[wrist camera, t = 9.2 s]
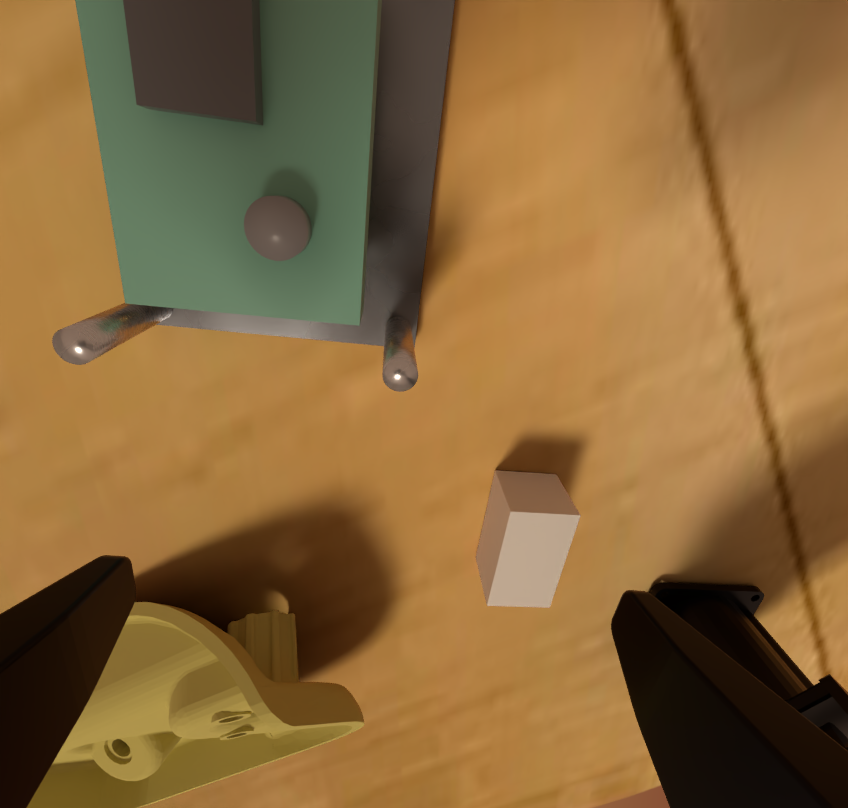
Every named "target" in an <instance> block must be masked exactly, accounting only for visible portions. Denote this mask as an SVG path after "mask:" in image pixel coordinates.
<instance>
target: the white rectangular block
mask: <svg viewBox="0 0 848 808" xmlns="http://www.w3.org/2000/svg"><path fill="white" fill-rule="evenodd" d="M579 518H580V514H579V512H578V510H577V509H576V507H575V505H574V503H573V502H572V500H571V498H570V497H569V495H568V493H567V492H566V490H565V488H564V486H563V485H562V483H561V481H560V480H559V478H558V476H557V475H556V474H544V473H529V472H514V471H498V470H495V473H494V478H493V482H492V487H491V491H490V496H489V500H488V505H487V509H486V514H485V518H484V523H483V527H482V532H481V536H480V541H479V545H478V550H477V554H476V561H477V565H478V569H479V574H480V578H481V582H482V587H483V591H484V595H485V599H486V604H487V606H514V607H547V608H550V605H551V602H552V599H553V596H554V593H555V590H556V587H557V584H558V581H559V578H560V575H561V572H562V569H563V566H564V563H565V560H566V557H567V554H568V551H569V548H570V545H571V542H572V539H573V536H574V533H575V530H576V527H577V524H578V521H579Z"/></svg>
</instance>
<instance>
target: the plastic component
mask: <svg viewBox="0 0 848 808" xmlns="http://www.w3.org/2000/svg"><path fill="white" fill-rule="evenodd" d="M363 726H364V719H363V715H362V712H361V709H360V707H359V705H358V703H357V702H356V700H355V699H354V697H353V696H352V694H351V693H350V692H349V691H348V690H347V689H346V688H345V687H344V686H342V685H339V684H334V683H323V682H299V675H298V658H297V640H296V622H295V614H294V613H291V614H285V613H280V612H279V610H272V611H271V612H267V613H260V614H254V613H251V614H247V615H246V617H245V618H243V619H240V620H238V621H232V622H230V623H229V624H228V633H226V632H224V631H223V630H221V629H220V628H218V627H216V626H215V625H213V624H212V623H210V622H209V621H207V620H206V619H204V618H202V617H200V616H198V615H196V614H194V613H192V612H189V611H187V610H184V609H181V608H177V607H173V606H169V605H164V604H158V603H152V602H134V605H133V608H132V610H131V612H130V614H129V616H128V618H127V621H126V623H125V625H124V627H123V629H122V631H121V634H120V636H119V638H118V640H117V642H116V644H115V646H114V649H113V651H112V653H111V655H110V657H109V659H108V662H107V664H106V666H105V668H104V670H103V672H102V675H101V677H100V679H99V681H98V683H97V685H96V687H95V689H94V691H93V693H92V695H91V697H90V699H89V701H88V703H87V705H86V706H85V708H84V710H83V712H82V714H81V715H80V717H79V719H78V721H77V722H76V724H75V726H74V727H73V729H72V731H71V733H70V734H69V736H68V738H67V739H66V741H65V743H64V745H63V746H62V748H61V750H60V751H59V753H58V755H57V757H56V758H55V760H54V762H53V764H52V765H51V767H50V769H49V770H48V772H47V774H46V776H45V777H44V779H43V781H42V782H41V784H40V786H39V788H38V789H37V791H36V793H35V794H34V796H33V798H32V800H31V801H30V803H29V805H28V806H27V808H139V807H143V806H146V805H149V804H153V803H156V802H158V801H161V800H164V799H167V798H170V797H173V796H176V795H179V794H181V793H184V792H187V791H190V790H193V789H196V788H199V787H202V786H204V785H207V784H210V783H213V782H216V781H219V780H222V779H225V778H228V777H230V776H233V775H236V774H239V773H242V772H245V771H248V770H251V769H253V768H256V767H259V766H262V765H265V764H268V763H271V762H274V761H277V760H279V759H282V758H285V757H288V756H291V755H294V754H297V753H299V752H302V751H305V750H308V749H311V748H314V747H316V746H319V745H322V744H325V743H327V742H330V741H333V740H335V739H338V738H341V737H343V736H345V735H348V734H350V733H352V732H355V731H356V730H358V729H360V728H361V727H363Z"/></svg>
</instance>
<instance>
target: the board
mask: <svg viewBox="0 0 848 808" xmlns="http://www.w3.org/2000/svg"><path fill="white" fill-rule="evenodd" d="M75 1H76V7H77V14H78V20H79V26H80V32H81V38H82V44H83V50H84V56H85V62H86V68H87V74H88V80H89V86H90V92H91V98H92V104H93V110H94V116H95V122H96V128H97V134H98V140H99V146H100V152H101V159H102V165H103V171H104V177H105V183H106V189H107V195H108V201H109V207H110V213H111V219H112V225H113V231H114V237H115V243H116V249H117V255H118V261H119V267H120V273H121V279H122V285H123V291H124V297H125V304H136V305H146V306H157V307H168V308H178V309H189V310H199V311H210V312H220V313H231V314H241V315H252V316H263V317H273V318H284V319H294V320H305V321H315V322H326V323H337V324H347V325H358V326H360V322H361V318H362V313H363V309H364V294H365V277H366V261H367V244H368V227H369V210H370V193H371V176H372V159H373V142H374V126H375V109H376V92H377V75H378V58H379V41H380V24H381V8H382V0H75Z"/></svg>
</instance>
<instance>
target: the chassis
mask: <svg viewBox="0 0 848 808" xmlns="http://www.w3.org/2000/svg"><path fill="white" fill-rule="evenodd" d="M454 3H455V0H382V8H381V24H380V41H379V58H378V75H377V92H376V109H375V126H374V142H373V159H372V176H371V193H370V210H369V227H368V244H367V261H366V277H365V294H364V309H363V313H362V318H361V322H360V326H358V325H347V324H337V323H326V322H315V321H305V320H294V319H284V318H273V317H263V316H252V315H241V314H231V313H220V312H210V311H199V310H189V309H178V308H168V307H157V306H146V305H136V304H125V303H123V304H121V305H118V306H116V307H114V308H111V309H109V310H106V311H104V312H101V313H99V314H97V315H94V316H92V317H89V318H87V319H84V320H82V321H80V322H77V323H75V324H72V325H70V326H68V327H65V328H63V329H60V330H58V331H57V332H56V333H55V334H54V336H53V340H52V343H53V347H54V349H55V351H56V353H57V354H58V355H59V356H60V357H61V358H62V359H64V360H65V361H67V362H69V363H72V364H77V365H82V364H86V363H88V362H90V361H92V360H93V359H95V358H97V357H99V356H101V355H102V354H104V353H106V352H108V351H110V350H111V349H113V348H115V347H117V346H119V345H120V344H122V343H124V342H126V341H127V340H129V339H131V338H133V337H135V336H136V335H138V334H140V333H142V332H144V331H145V330H147V329H149V328H151V327H152V326H154V325H167V326H177V327H188V328H198V329H209V330H220V331H230V332H241V333H251V334H262V335H273V336H283V337H294V338H304V339H315V340H325V341H336V342H347V343H357V344H368V345H378V346H384V357H383V380H384V382H385V384H386V385H387V386H388V387H389V388H390V389H392V390H394V391H406V390H409V389H410V388H412V387H413V386H414V385H415V383H416V381H417V379H418V371H417V364H416V357H415V351H414V347H415V339H416V330H417V321H418V313H419V304H420V296H421V287H422V278H423V270H424V261H425V253H426V244H427V235H428V227H429V218H430V209H431V201H432V192H433V184H434V175H435V166H436V158H437V149H438V141H439V132H440V123H441V115H442V106H443V98H444V89H445V80H446V72H447V63H448V54H449V46H450V37H451V29H452V20H453V11H454Z"/></svg>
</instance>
